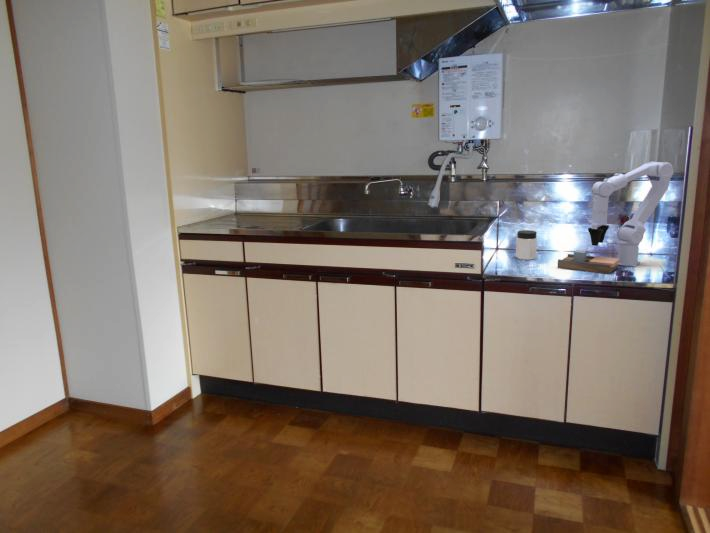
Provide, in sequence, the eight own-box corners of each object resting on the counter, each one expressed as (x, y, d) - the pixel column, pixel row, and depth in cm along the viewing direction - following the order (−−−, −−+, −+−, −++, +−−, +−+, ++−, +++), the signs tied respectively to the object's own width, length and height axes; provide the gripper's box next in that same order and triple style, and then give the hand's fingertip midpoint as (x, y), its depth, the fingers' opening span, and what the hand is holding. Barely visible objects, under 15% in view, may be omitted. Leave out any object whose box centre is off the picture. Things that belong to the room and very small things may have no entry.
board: (567, 261, 240) (568, 253, 239) (617, 267, 228) (618, 259, 227) (557, 268, 229) (558, 259, 228) (608, 274, 217) (609, 265, 216)
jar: (525, 255, 255) (526, 229, 252) (539, 258, 248) (541, 231, 245) (511, 257, 250) (513, 231, 247) (526, 260, 243) (527, 234, 241)
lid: (596, 259, 231) (596, 256, 231) (619, 262, 226) (619, 258, 225) (589, 264, 222) (589, 261, 222) (613, 267, 217) (613, 263, 217)
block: (575, 264, 233) (576, 250, 232) (585, 265, 231) (586, 251, 229) (573, 265, 230) (574, 251, 229) (583, 267, 228) (584, 252, 226)
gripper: (594, 208, 234) (592, 240, 237) (584, 212, 223) (582, 245, 226) (612, 209, 230) (609, 241, 233) (603, 213, 218) (600, 247, 222)
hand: (597, 243), depth 229 cm, fingers open, 7 cm apart
